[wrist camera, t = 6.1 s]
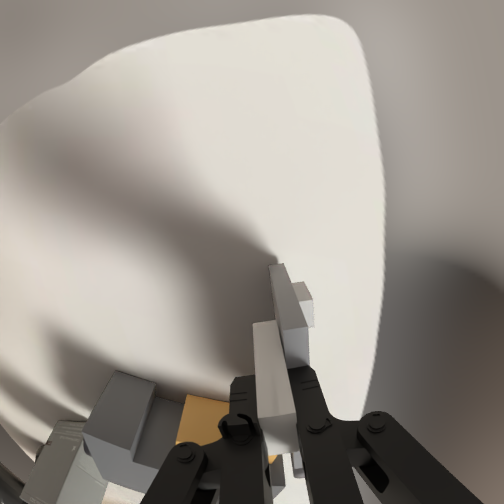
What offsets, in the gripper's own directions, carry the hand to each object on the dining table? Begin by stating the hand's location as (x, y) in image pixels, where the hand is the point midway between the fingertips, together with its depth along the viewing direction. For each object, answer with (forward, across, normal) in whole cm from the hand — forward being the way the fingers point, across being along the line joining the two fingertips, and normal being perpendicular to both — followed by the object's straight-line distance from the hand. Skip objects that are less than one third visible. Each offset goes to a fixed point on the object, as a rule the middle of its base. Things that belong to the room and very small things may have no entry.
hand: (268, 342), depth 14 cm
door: (+5, +2, -3) cm, 6 cm away
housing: (+5, -9, -12) cm, 16 cm away
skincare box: (+6, -26, -18) cm, 33 cm away
